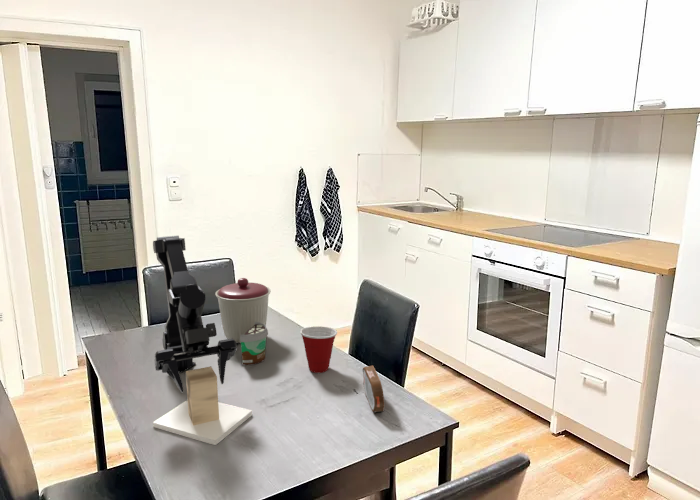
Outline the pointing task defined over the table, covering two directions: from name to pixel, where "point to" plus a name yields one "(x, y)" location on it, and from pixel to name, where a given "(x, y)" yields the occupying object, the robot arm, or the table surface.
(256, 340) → the food container
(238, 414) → the cutting board
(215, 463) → the table surface
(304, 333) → the plastic cup
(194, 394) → the wooden block
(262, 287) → the canister
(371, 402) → the tin
